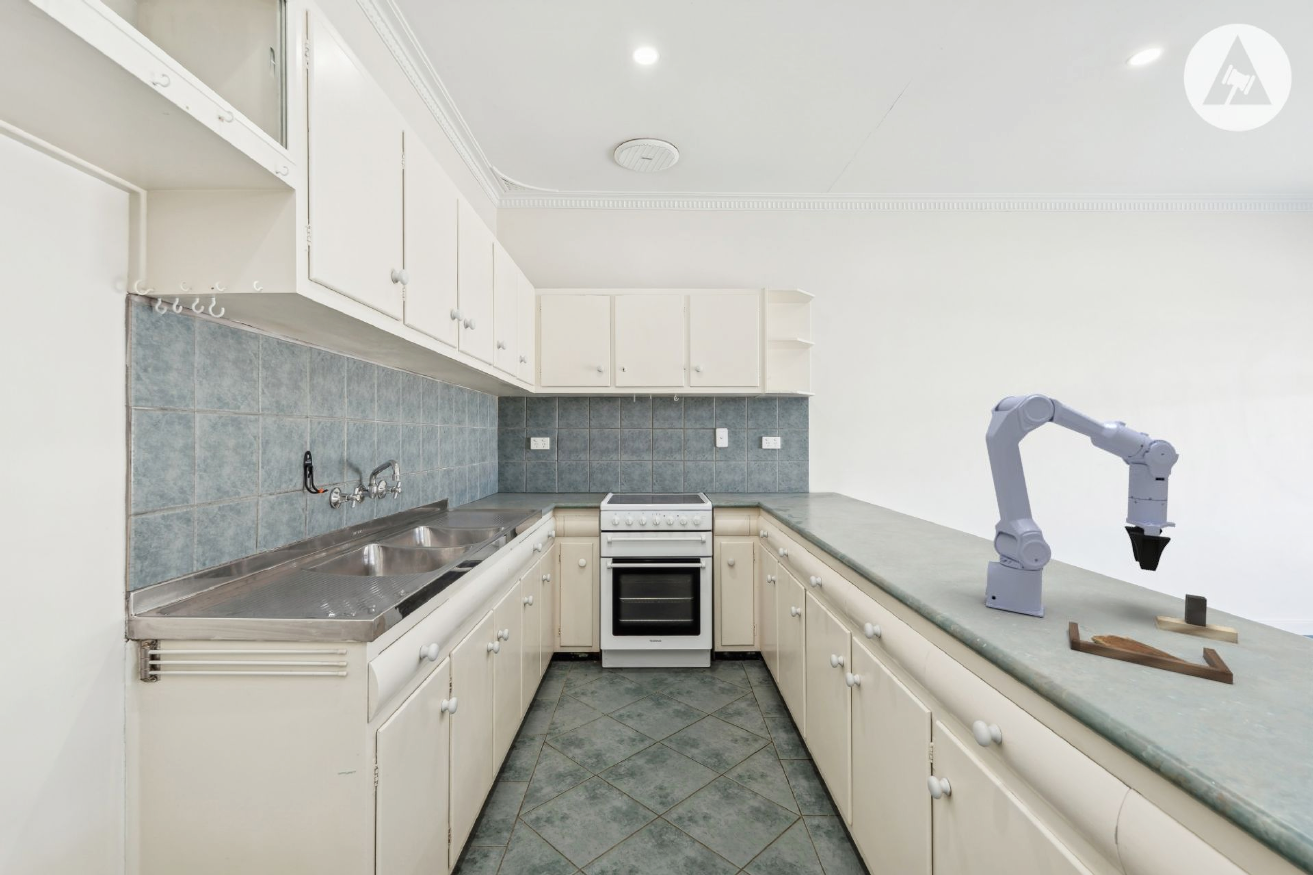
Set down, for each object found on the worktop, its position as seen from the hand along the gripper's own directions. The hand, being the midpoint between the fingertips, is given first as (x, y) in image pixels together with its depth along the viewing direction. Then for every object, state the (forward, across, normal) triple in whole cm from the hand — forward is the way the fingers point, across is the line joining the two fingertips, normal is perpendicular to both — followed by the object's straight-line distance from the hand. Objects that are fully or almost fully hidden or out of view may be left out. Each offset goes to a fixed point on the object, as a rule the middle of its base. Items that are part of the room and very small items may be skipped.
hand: (1145, 565), depth 102 cm
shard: (+11, -25, +3) cm, 27 cm away
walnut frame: (+10, -25, +3) cm, 27 cm away
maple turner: (+10, -7, -6) cm, 14 cm away
